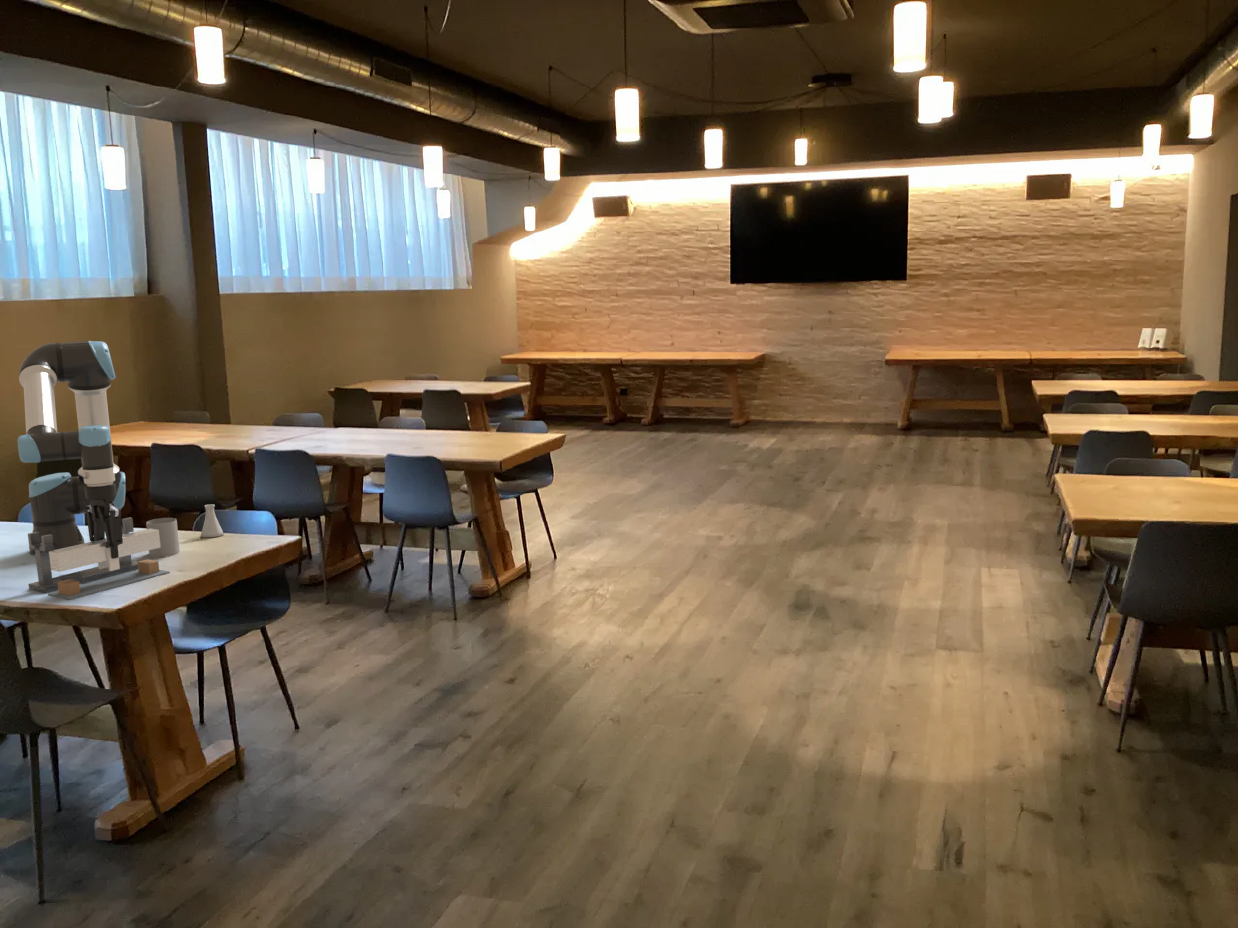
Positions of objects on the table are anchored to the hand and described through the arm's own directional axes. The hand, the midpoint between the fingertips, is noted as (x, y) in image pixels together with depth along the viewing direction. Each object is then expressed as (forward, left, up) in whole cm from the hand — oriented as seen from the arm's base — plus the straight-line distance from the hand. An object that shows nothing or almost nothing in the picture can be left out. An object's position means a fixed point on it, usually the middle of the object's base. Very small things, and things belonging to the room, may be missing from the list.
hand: (109, 568), depth 287 cm
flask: (-24, +50, -4) cm, 56 cm away
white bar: (0, 0, +3) cm, 3 cm away
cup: (-17, +28, -4) cm, 33 cm away
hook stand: (-11, 0, -4) cm, 12 cm away
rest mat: (0, 0, -4) cm, 4 cm away
